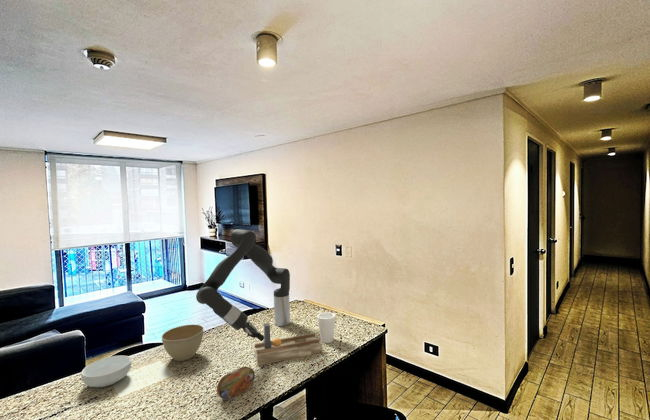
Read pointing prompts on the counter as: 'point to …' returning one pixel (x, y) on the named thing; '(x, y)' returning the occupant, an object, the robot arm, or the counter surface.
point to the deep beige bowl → (182, 341)
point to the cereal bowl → (106, 371)
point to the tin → (235, 383)
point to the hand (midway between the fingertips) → (263, 339)
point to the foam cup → (326, 326)
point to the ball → (276, 342)
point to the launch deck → (287, 349)
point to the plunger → (267, 336)
